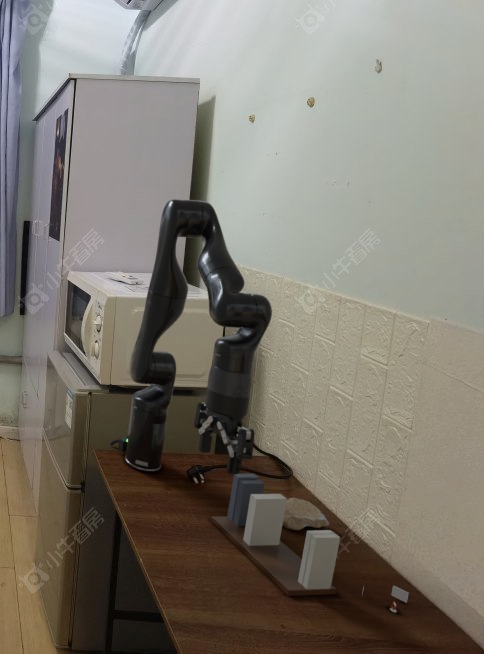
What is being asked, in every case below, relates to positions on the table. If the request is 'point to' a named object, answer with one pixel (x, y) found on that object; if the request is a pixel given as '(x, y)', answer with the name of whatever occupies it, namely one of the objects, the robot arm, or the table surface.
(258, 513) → the white rectangular block
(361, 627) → the table surface
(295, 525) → the stone
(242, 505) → the grey books
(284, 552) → the shelf board
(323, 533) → the cream books
